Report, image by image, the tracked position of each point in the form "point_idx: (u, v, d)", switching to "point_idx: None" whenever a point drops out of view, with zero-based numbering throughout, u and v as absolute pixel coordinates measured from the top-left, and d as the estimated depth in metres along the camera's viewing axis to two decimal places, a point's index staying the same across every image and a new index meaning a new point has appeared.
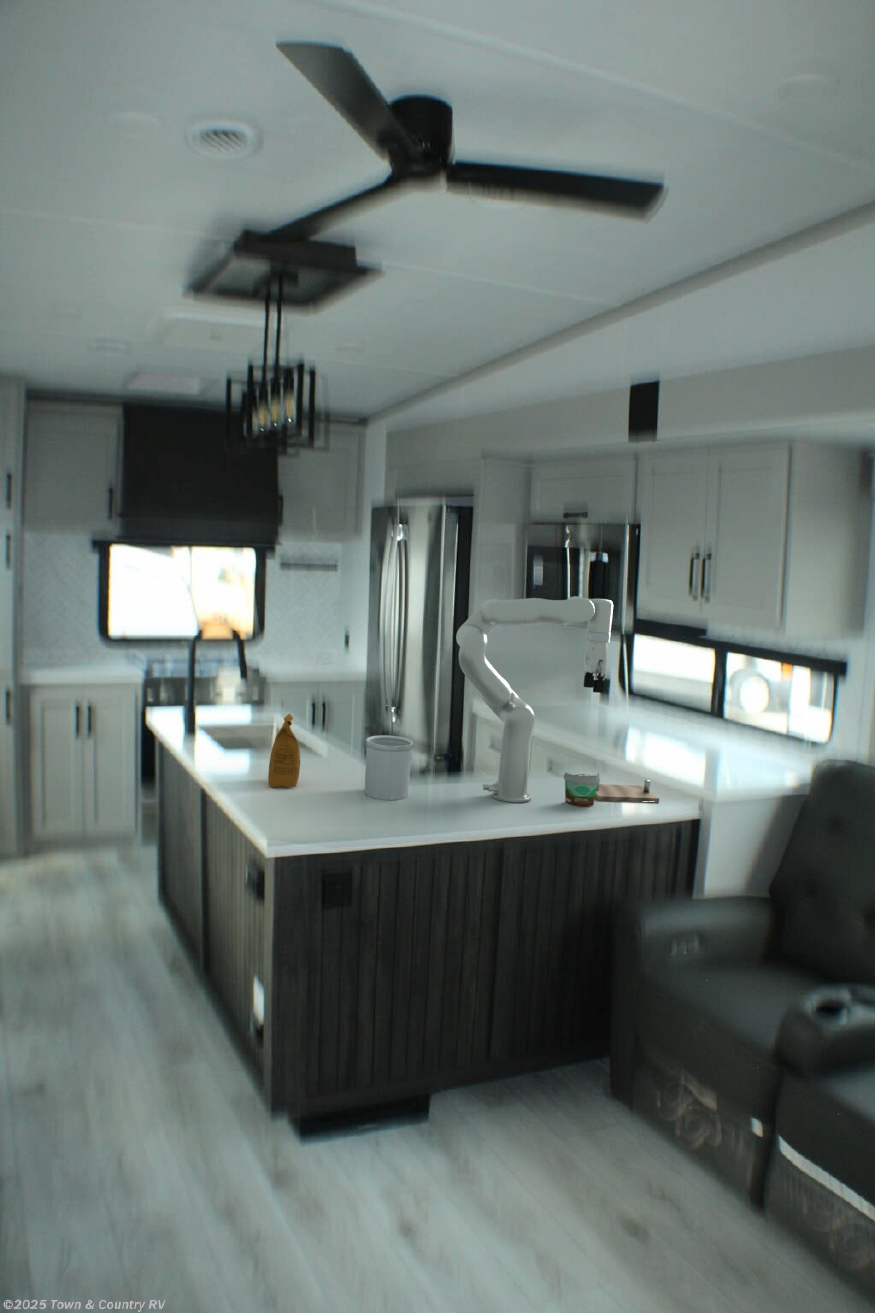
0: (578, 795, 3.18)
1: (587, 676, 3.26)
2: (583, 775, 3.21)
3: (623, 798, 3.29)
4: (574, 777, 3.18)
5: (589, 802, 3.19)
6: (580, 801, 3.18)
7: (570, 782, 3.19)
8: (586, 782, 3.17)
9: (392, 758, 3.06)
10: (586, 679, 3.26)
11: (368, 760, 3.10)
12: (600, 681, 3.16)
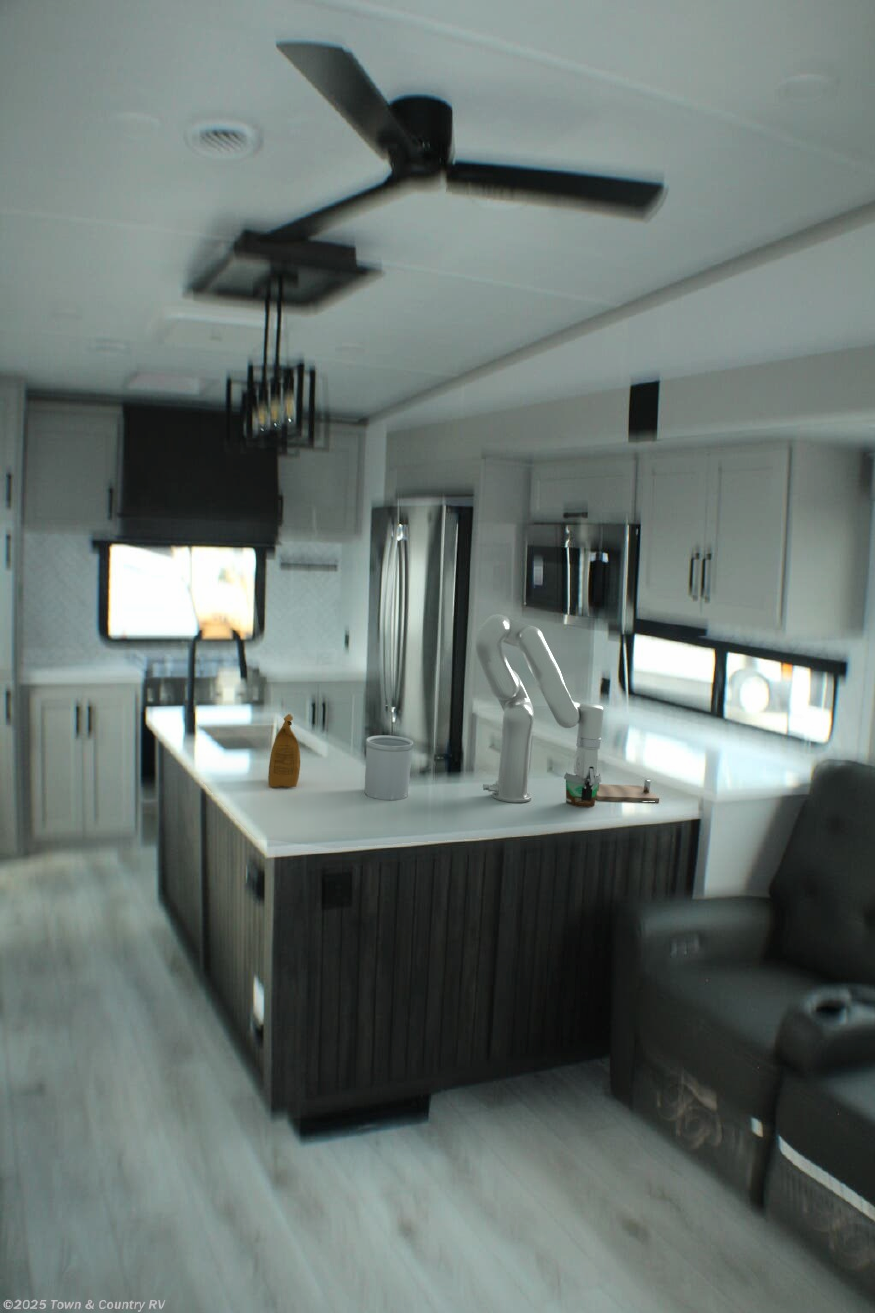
0: (578, 795, 3.18)
1: None
2: None
3: (623, 798, 3.29)
4: (574, 777, 3.17)
5: (590, 802, 3.19)
6: (580, 801, 3.18)
7: (570, 782, 3.19)
8: (586, 782, 3.16)
9: (392, 758, 3.06)
10: None
11: (368, 760, 3.10)
12: (588, 790, 3.16)
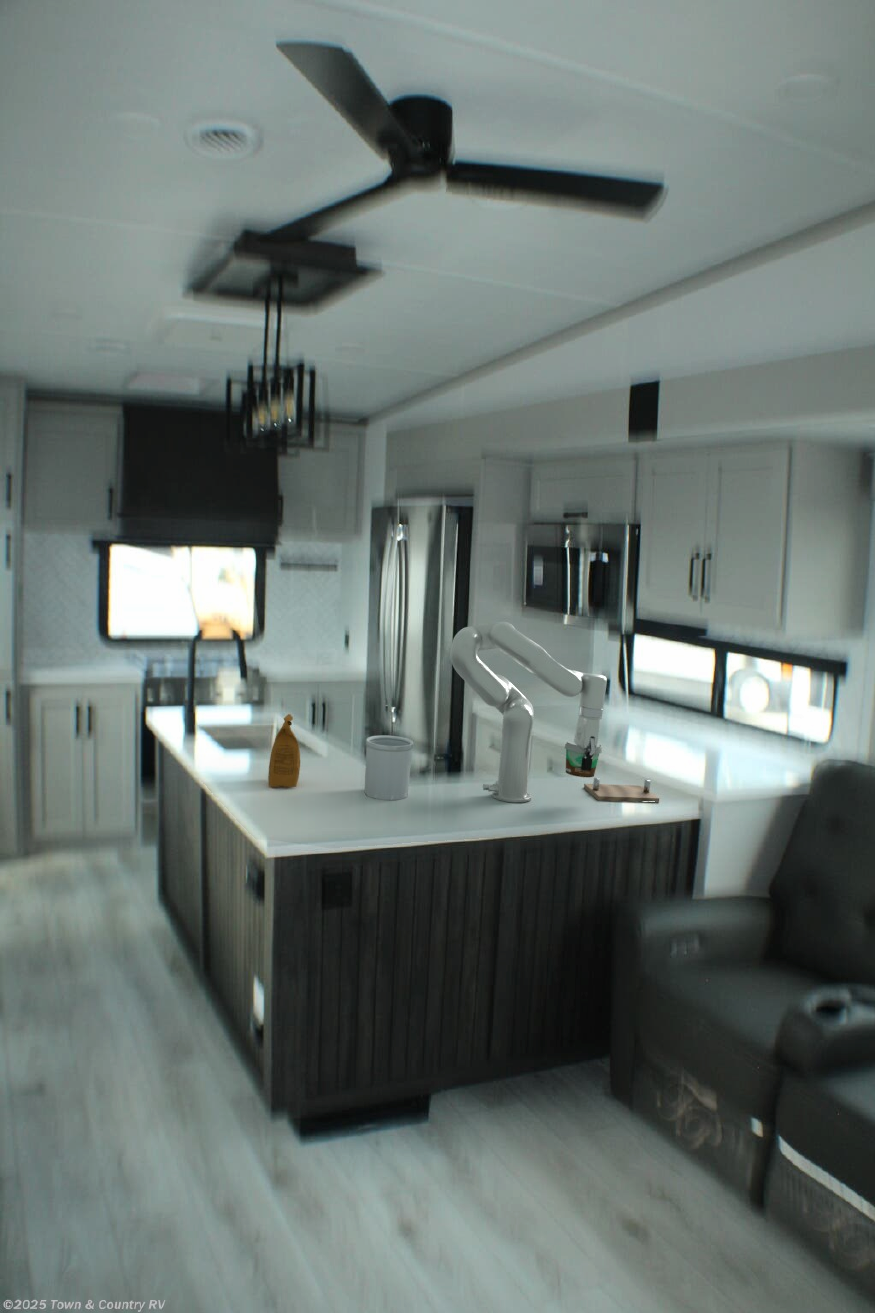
0: (578, 765, 3.17)
1: None
2: None
3: (623, 798, 3.29)
4: (575, 747, 3.16)
5: (589, 773, 3.17)
6: (580, 771, 3.17)
7: (571, 752, 3.17)
8: None
9: (392, 758, 3.06)
10: None
11: (368, 760, 3.10)
12: (589, 760, 3.15)
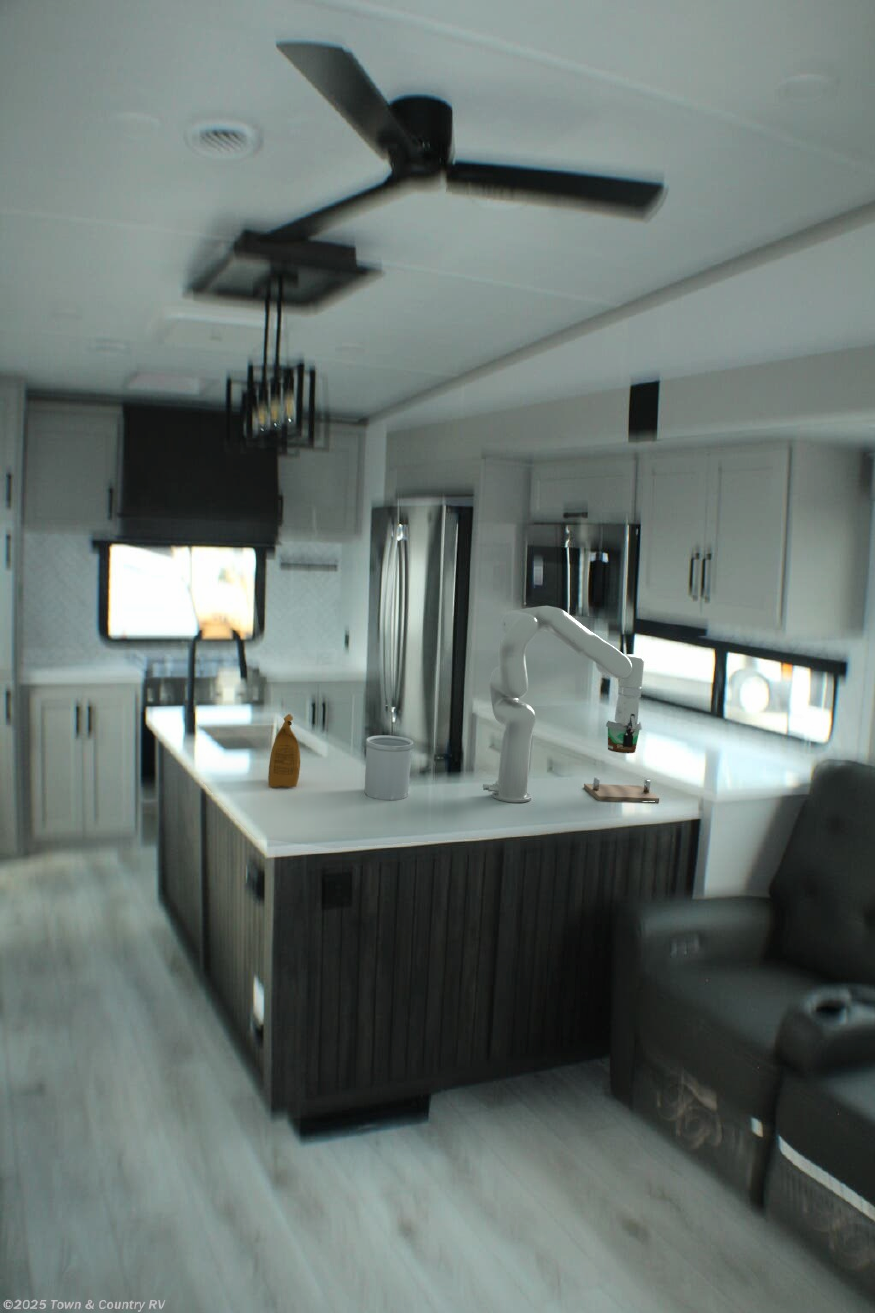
0: (620, 742, 3.32)
1: None
2: None
3: (623, 798, 3.29)
4: (616, 724, 3.31)
5: (631, 749, 3.33)
6: (622, 748, 3.32)
7: (612, 729, 3.33)
8: None
9: (392, 758, 3.06)
10: None
11: (368, 760, 3.10)
12: (630, 736, 3.30)
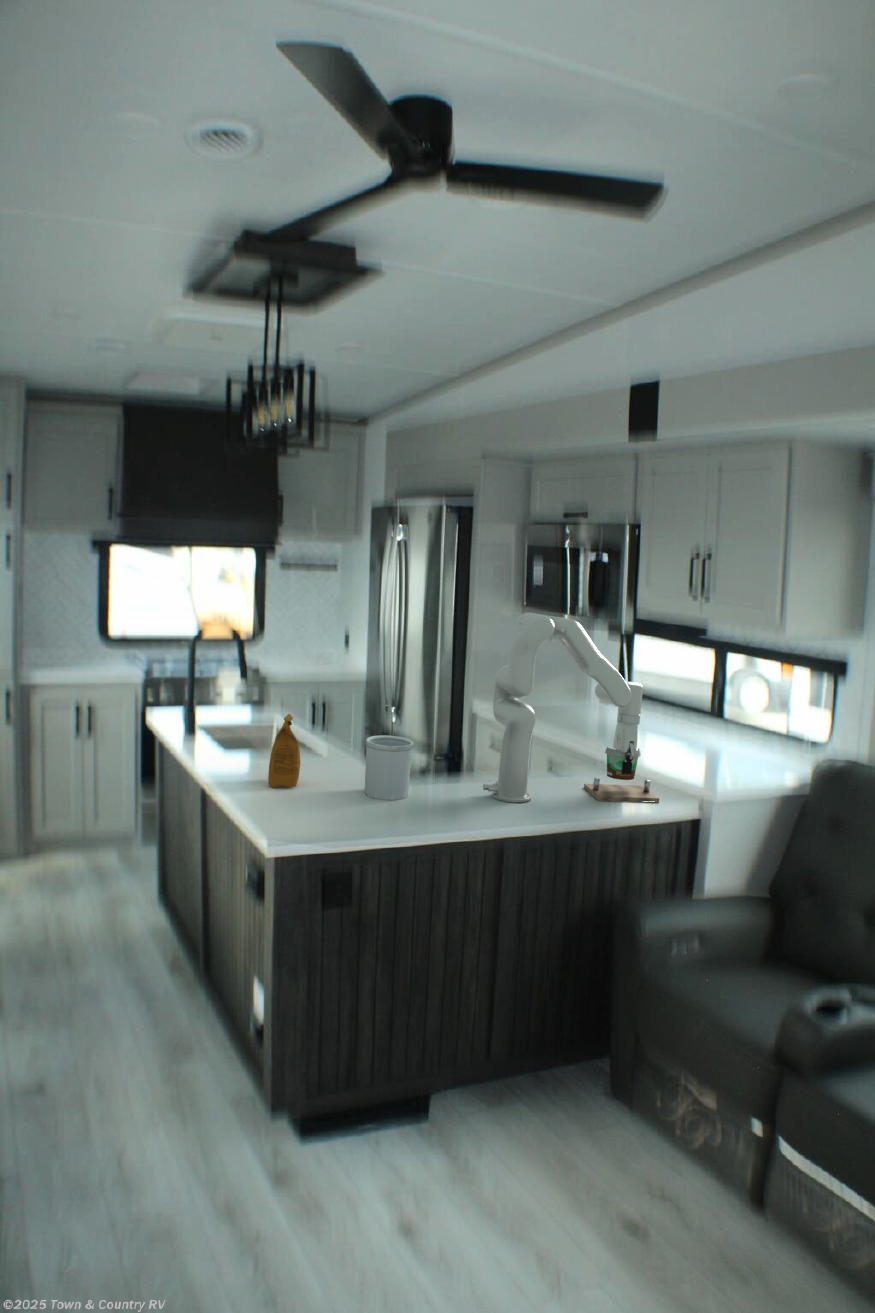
0: (619, 768, 3.34)
1: None
2: None
3: (623, 798, 3.29)
4: (615, 751, 3.33)
5: (630, 775, 3.35)
6: (621, 774, 3.34)
7: (611, 756, 3.35)
8: None
9: (392, 758, 3.06)
10: None
11: (368, 760, 3.10)
12: (629, 763, 3.32)
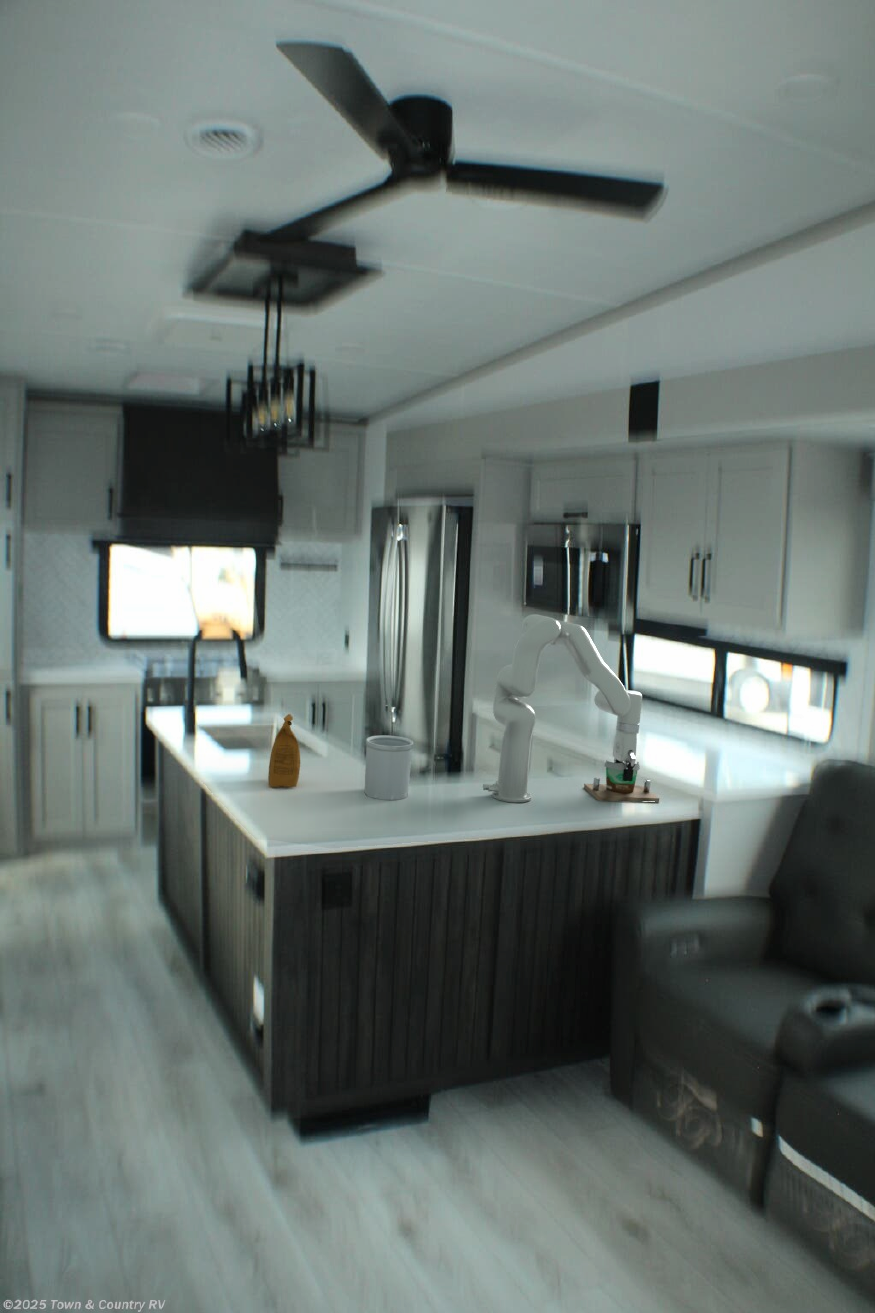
0: (619, 782, 3.33)
1: None
2: (623, 763, 3.36)
3: (623, 798, 3.29)
4: (615, 765, 3.33)
5: (629, 789, 3.34)
6: (621, 788, 3.33)
7: (611, 770, 3.34)
8: None
9: (392, 758, 3.06)
10: None
11: (368, 760, 3.10)
12: (630, 770, 3.30)
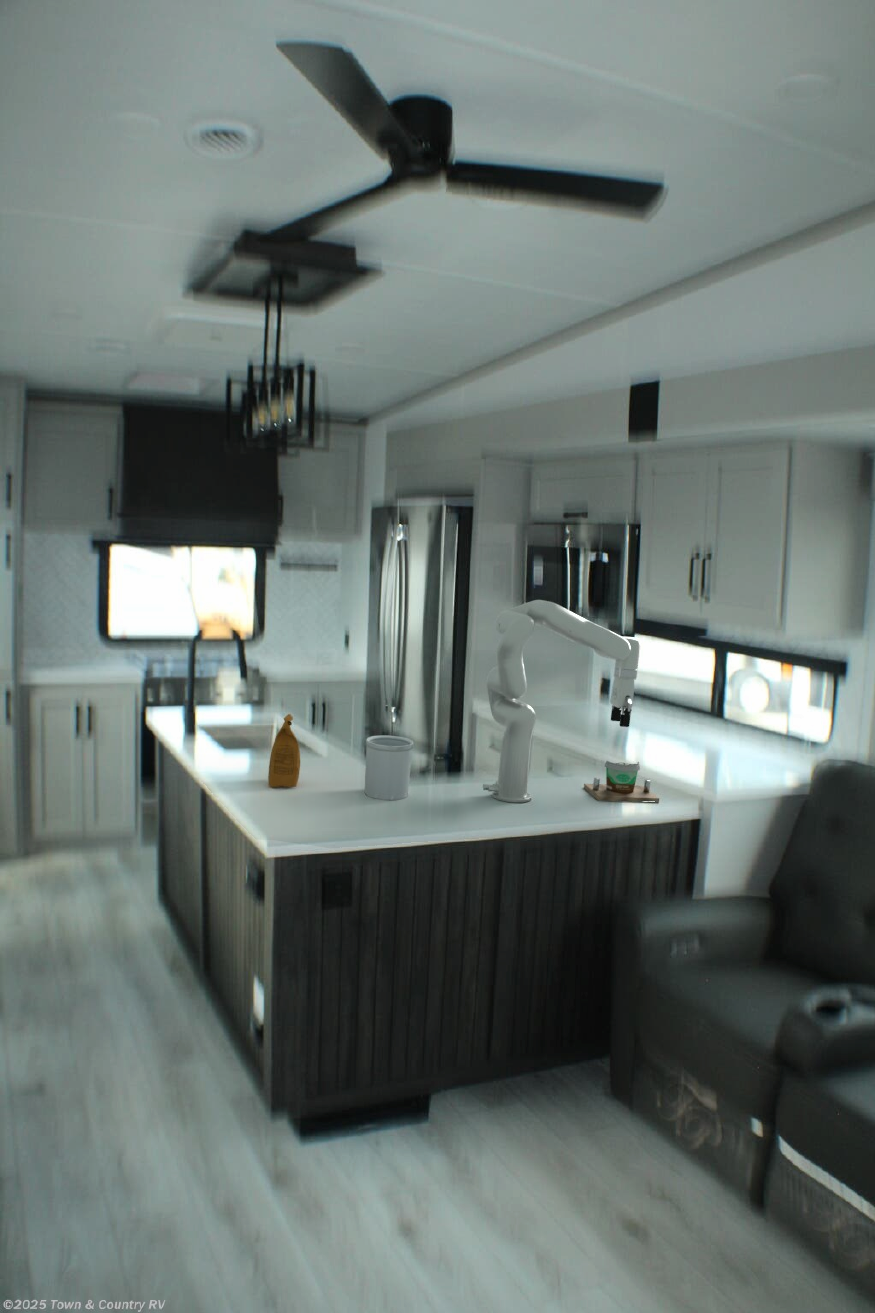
0: (619, 782, 3.33)
1: (614, 710, 3.40)
2: (624, 763, 3.36)
3: (623, 798, 3.29)
4: (615, 765, 3.32)
5: (629, 789, 3.34)
6: (621, 788, 3.33)
7: (611, 770, 3.34)
8: (627, 770, 3.31)
9: (392, 758, 3.06)
10: (613, 713, 3.40)
11: (368, 760, 3.10)
12: (627, 716, 3.30)
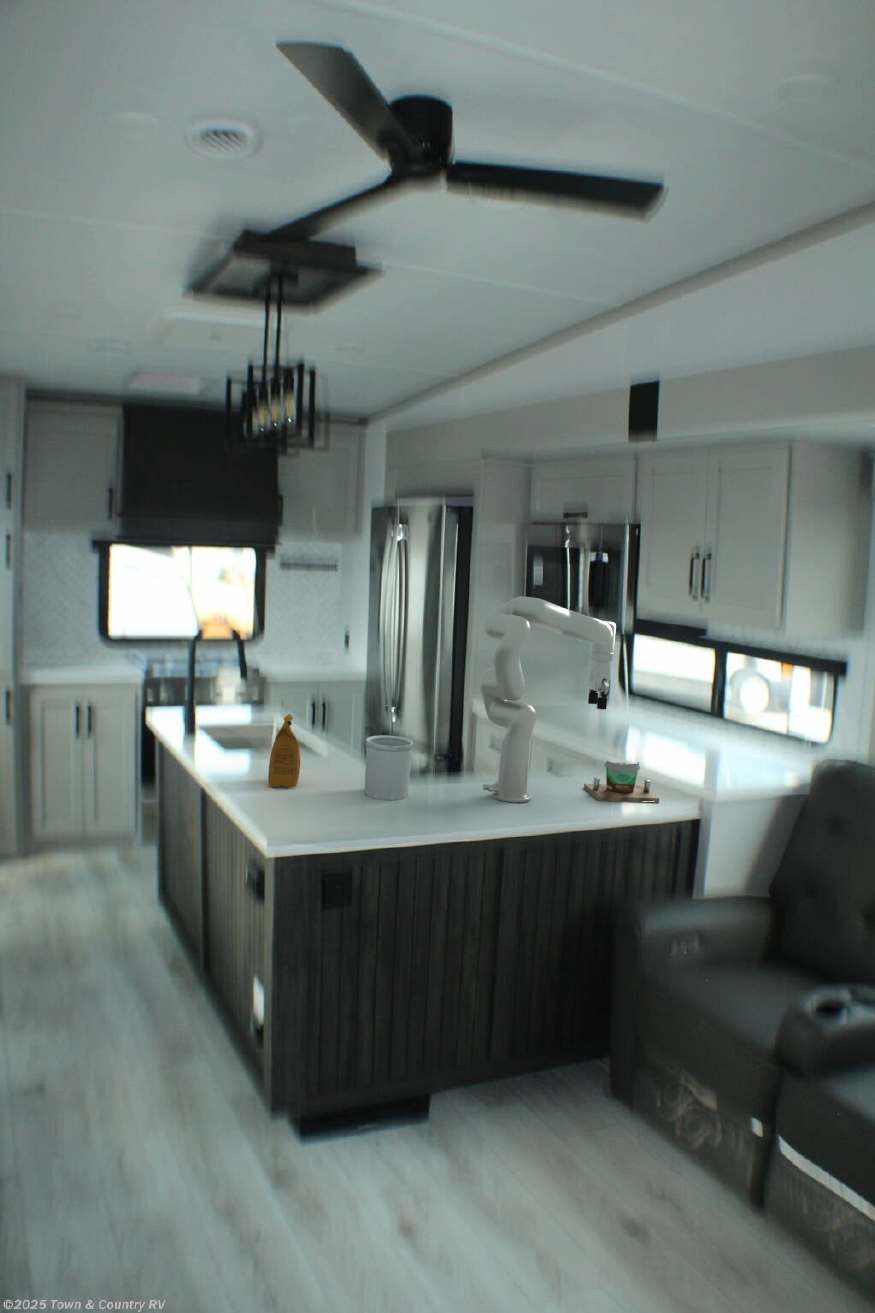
0: (619, 782, 3.33)
1: (591, 693, 3.46)
2: (624, 763, 3.36)
3: (623, 798, 3.29)
4: (615, 765, 3.32)
5: (629, 789, 3.34)
6: (621, 788, 3.33)
7: (611, 770, 3.34)
8: (627, 770, 3.31)
9: (392, 758, 3.06)
10: (590, 696, 3.46)
11: (368, 760, 3.10)
12: (604, 698, 3.36)
